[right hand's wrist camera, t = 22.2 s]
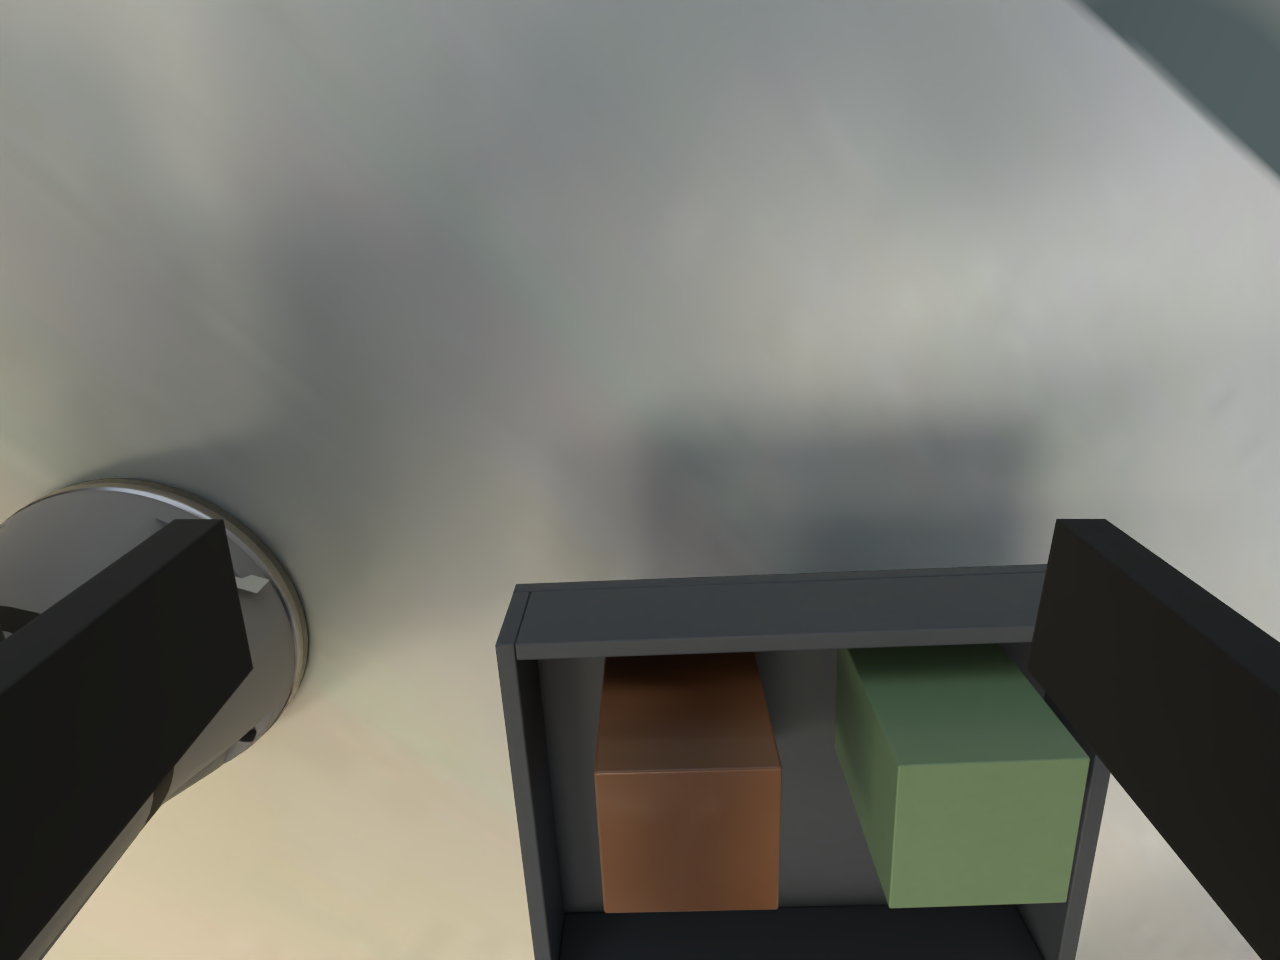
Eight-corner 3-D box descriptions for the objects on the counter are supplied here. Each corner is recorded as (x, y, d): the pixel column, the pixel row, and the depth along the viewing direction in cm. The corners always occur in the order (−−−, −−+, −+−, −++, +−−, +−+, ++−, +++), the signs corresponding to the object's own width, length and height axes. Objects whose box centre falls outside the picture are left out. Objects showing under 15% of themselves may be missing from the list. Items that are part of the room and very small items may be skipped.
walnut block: (614, 752, 29) (603, 914, 22) (606, 634, 27) (593, 772, 21) (749, 748, 29) (778, 911, 22) (750, 630, 27) (782, 767, 21)
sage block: (833, 747, 29) (889, 909, 22) (837, 628, 27) (898, 765, 21) (971, 741, 29) (1066, 903, 22) (983, 622, 27) (1091, 758, 20)
